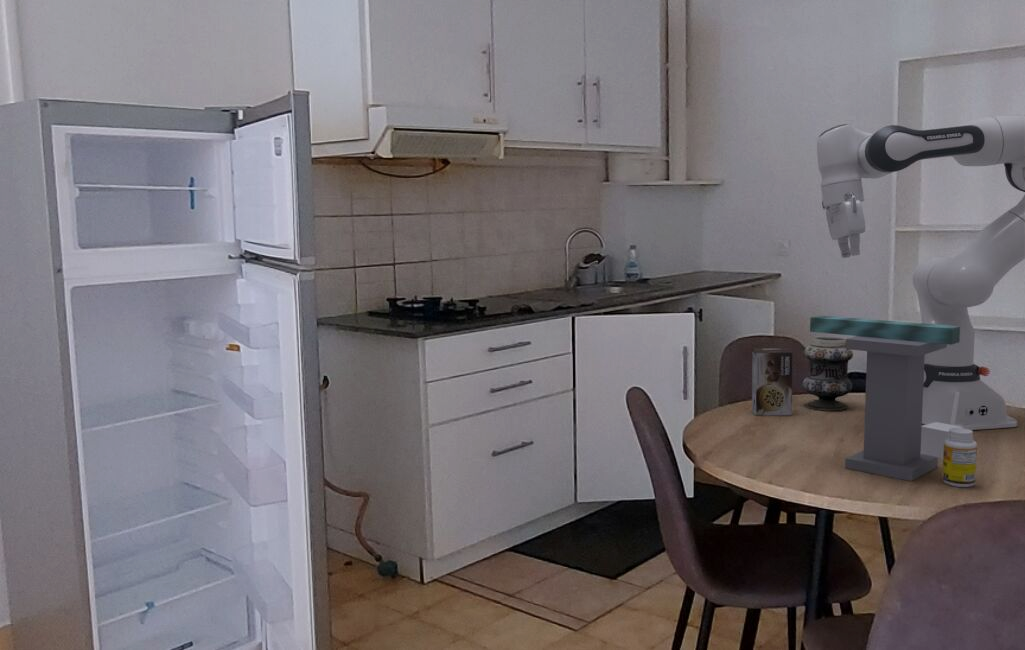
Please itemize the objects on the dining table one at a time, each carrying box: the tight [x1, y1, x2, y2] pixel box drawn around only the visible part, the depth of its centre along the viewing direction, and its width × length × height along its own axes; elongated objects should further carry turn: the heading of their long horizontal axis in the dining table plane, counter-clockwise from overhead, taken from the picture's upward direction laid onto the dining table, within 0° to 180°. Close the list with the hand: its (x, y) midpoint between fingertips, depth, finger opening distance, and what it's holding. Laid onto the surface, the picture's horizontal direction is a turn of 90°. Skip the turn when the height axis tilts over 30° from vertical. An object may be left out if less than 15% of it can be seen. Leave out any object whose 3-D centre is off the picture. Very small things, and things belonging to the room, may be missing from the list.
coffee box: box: [751, 347, 794, 417], centre depth 230 cm, size 9×6×16 cm
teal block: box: [809, 315, 960, 345], centre depth 181 cm, size 28×4×3 cm, turn 45°
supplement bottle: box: [942, 428, 978, 488], centre depth 171 cm, size 6×6×10 cm
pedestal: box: [844, 336, 947, 482], centre depth 181 cm, size 14×14×26 cm
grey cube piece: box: [920, 422, 964, 460], centre depth 191 cm, size 6×6×6 cm
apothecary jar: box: [802, 335, 854, 412], centre depth 236 cm, size 12×12×18 cm
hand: (850, 256), depth 211 cm, fingers open, 8 cm apart
